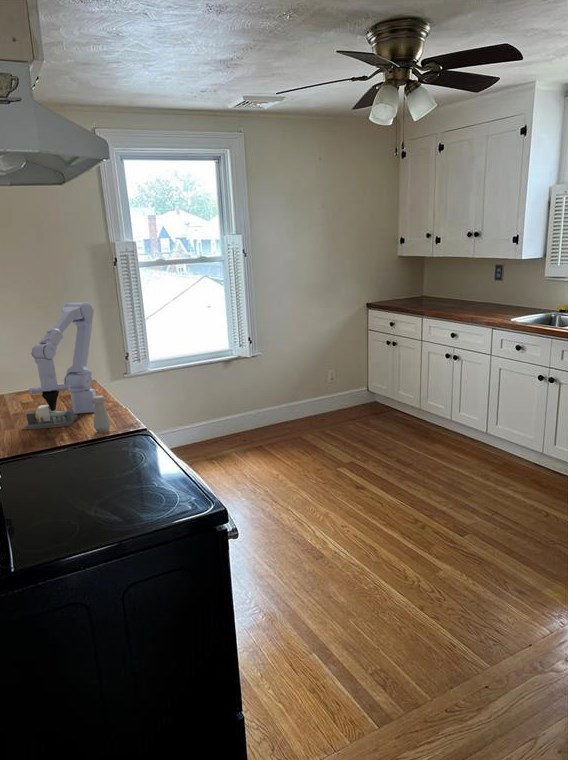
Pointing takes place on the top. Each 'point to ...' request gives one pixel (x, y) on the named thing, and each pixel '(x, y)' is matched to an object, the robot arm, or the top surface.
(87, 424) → the top surface
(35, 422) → the rod slider bracket
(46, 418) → the sleeve
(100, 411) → the salt shaker
